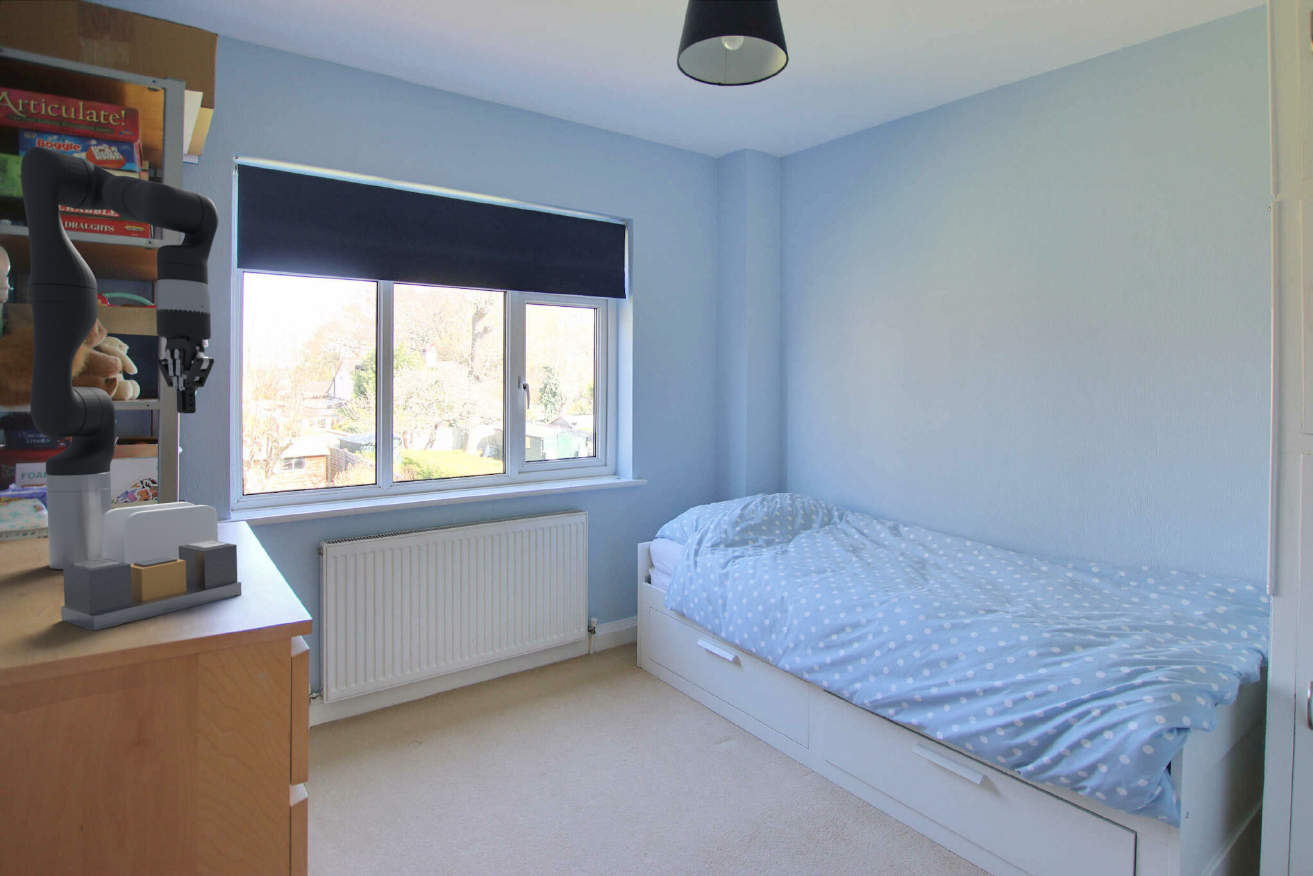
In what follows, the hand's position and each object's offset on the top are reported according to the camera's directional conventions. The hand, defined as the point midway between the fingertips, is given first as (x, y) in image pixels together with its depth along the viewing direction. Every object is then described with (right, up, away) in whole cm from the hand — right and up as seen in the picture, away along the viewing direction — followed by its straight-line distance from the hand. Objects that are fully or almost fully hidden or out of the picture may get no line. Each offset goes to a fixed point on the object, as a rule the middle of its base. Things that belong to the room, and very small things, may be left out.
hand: (186, 413), depth 116 cm
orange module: (+4, -28, -13) cm, 31 cm away
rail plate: (+4, -30, -12) cm, 32 cm away
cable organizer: (-12, -29, +10) cm, 33 cm away
